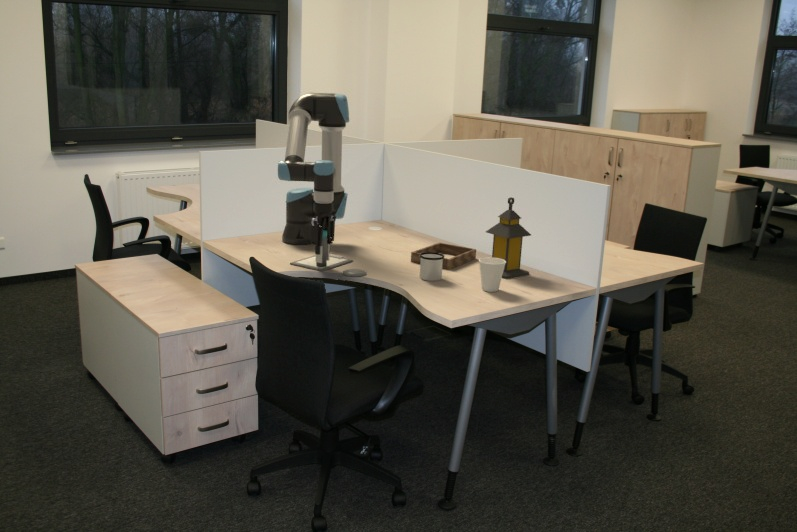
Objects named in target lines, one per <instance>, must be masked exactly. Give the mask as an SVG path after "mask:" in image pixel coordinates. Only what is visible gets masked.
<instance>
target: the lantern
mask: <svg viewBox="0 0 797 532" xmlns="http://www.w3.org/2000/svg"><path fill="white" fill-rule="evenodd" d="M507 204H508V209H506V210H505V211H503V212H502V213H500V215H498V216H497V218H499V222H498V223H497V224H494V225H493V226H492V227H490V228H489V229H487V230H486V231H485V233H487V234H491V235H493V238H492V239H493V241H492V250H491V251H492V252H491V257H493V258H500V259H503V260H505V261H506V263H505V267H504V271H503V274H502V278H501V279H505V280H509V279H515V278H519V277H523V276H529V275H530V271H528V270H525V269H522V268H521V261H522V248H523V238H524V237H530V236H532V234H531V233H530V232H529V231H528V230H526V229H525V227H523V225H522V224H520V220H521V219H522V217H521V216H520V215H519V214H518V213H517V212H516V211H515V210H513V206H514V204H515V198H514V197H508V198H507Z"/></svg>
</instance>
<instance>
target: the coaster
mask: <svg viewBox="0 0 797 532" xmlns="http://www.w3.org/2000/svg"><path fill="white" fill-rule="evenodd" d="M342 275H343V276H347V277H351V278H352V277H354V278H359V277H364V275H365V276H366V275H367V271H366V270H364V269H357V268H349V269H345V270H342Z"/></svg>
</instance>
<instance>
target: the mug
mask: <svg viewBox="0 0 797 532" xmlns="http://www.w3.org/2000/svg"><path fill="white" fill-rule="evenodd" d="M419 256H420V258H421V263H419V264H420V266H419V267H420V268H419V278H420V279H421V280H422V281H427V282H437V281H440V280H442V277H443V268H442V264H443V259H444V258H445V254H444V253H441V252H439V253H435V252H424V253H421V254H420V255H419Z"/></svg>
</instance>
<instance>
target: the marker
mask: <svg viewBox="0 0 797 532" xmlns="http://www.w3.org/2000/svg"><path fill="white" fill-rule="evenodd" d="M321 246H323V247H322V263H319V262H316V266H317V267H326V266H327V230H323V235H322V242H321Z"/></svg>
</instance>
